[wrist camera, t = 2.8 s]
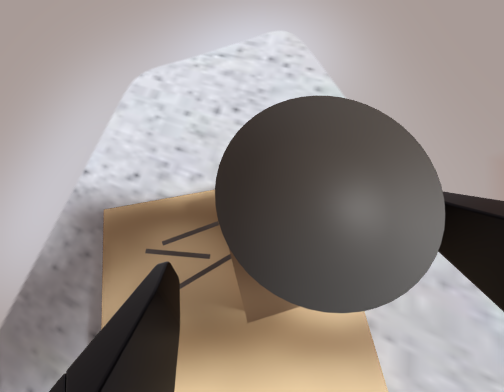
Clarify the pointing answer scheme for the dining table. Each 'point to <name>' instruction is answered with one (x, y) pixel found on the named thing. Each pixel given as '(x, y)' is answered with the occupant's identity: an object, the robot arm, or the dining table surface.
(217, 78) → the dining table surface
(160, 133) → the dining table surface
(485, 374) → the dining table surface
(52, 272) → the dining table surface
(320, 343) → the pine board
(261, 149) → the rubber stamp
